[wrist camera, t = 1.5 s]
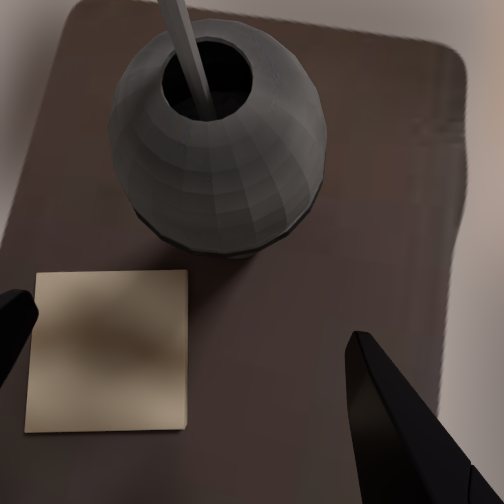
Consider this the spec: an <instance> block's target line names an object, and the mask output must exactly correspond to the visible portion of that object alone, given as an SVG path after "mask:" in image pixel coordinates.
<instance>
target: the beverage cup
mask: <svg viewBox="0 0 504 504" xmlns="http://www.w3.org/2000/svg"><path fill="white" fill-rule="evenodd" d="M158 3H159V6H160V9H161V12H162V14H163V17H164V20H165V23H166V25H167V28H168V30H167V31H165V32H163V33H161V34H159V35H157V36H155V37H154V38H153V39H152V40H151V41H150V42H149V43H148V44H147V45H146V46H145V47H143V48H142V49H141V50H140V51H139V52H138V53H137V54H136V55H135V56H134V58H133V59H132V60H131V62H130V64H129V65H128V67H127V69H126V71H125V72H124V74H123V76H122V78H121V79H120V81H119V83H118V85H117V86H116V90H115V95H114V100H113V105H112V110H111V115H110V120H109V124H108V131H109V138H110V146H111V153H112V160H113V167H114V170H115V173H116V175H117V177H118V179H119V181H120V183H121V185H122V187H123V189H124V191H125V193H126V195H127V197H128V199H129V201H130V203H131V204H132V206H133V208H134V210H135V212H136V214H137V216H138V218H139V219H140V220H141V221H142V222H143V223H144V224H145V225H146V226H147V227H149V228H150V229H151V230H152V231H153V232H154V233H155V234H156V235H157V236H158V237H159V238H160V239H161V240H163V241H165V242H167V243H169V244H171V245H173V246H175V247H178V248H180V249H182V250H184V251H186V252H188V253H190V254H194V255H203V256H211V257H219V258H234V259H241V258H246V257H250V256H252V255H254V254H255V253H257V252H259V251H261V250H263V249H265V248H266V247H268V246H270V245H272V244H274V243H275V242H277V241H279V240H281V239H283V238H285V237H286V236H288V235H289V234H290V233H291V232H292V231H293V230H294V228H295V227H296V226H297V225H298V224H299V223H300V222H301V221H302V220H303V219H304V218H305V217H306V216H307V215H308V213H309V212H310V211H311V209H312V206H313V204H314V202H315V200H316V197H317V195H318V193H319V191H320V189H321V186H322V184H323V178H324V167H325V156H326V139H327V128H326V124H325V120H324V116H323V112H322V108H321V104H320V100H319V96H318V93H317V89H316V88H315V86H314V85H313V83H312V82H311V80H310V78H309V77H308V75H307V74H306V72H305V71H304V69H303V67H302V66H301V64H300V63H299V61H298V60H297V58H296V57H295V55H293V54H292V53H291V52H290V51H288V50H287V49H286V48H285V47H284V46H282V45H281V44H280V43H279V42H278V41H276V40H275V39H274V38H273V37H271V36H270V35H268V34H267V33H265V32H263V31H261V30H258V29H256V28H253V27H251V26H248V25H246V24H244V23H241V22H239V21H229V20H220V19H211V18H210V19H204V20H198V21H193V22H190V19H189V15H188V12H187V8H186V5H185V1H184V0H158Z"/></svg>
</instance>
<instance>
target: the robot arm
mask: <svg viewBox="0 0 504 504" xmlns="http://www.w3.org/2000/svg"><path fill="white" fill-rule="evenodd" d="M38 317H39V310H38V307H37V305H36V303H35V301H34V299H33V297H32V295H31V293H30V292H29V291H26V290H19V289H12V290H9V291H7V292H5V293H3V294H1V295H0V388H1V386H2V385H3V383H4V382H5V380H6V379H7V377H8V375H9V374H10V372H11V370H12V369H13V367H14V365H15V363H16V361H17V359H18V357H19V355H20V353H21V351H22V349H23V347H24V345H25V343H26V341H27V339H28V337H29V336H30V334H31V332H32V330H33V328H34V326H35V324H36V322H37V320H38ZM345 373H346V392H347V409H348V418H349V424H350V430H351V436H352V442H353V449H354V455H355V461H356V467H357V473H358V479H359V485H360V491H361V497H362V504H504V502H503V501H502V500H501V499H500V498H499V496H498V495H497V494H496V493H495V491H494V490H493V489H492V488H491V486H490V485H489V484H488V483H487V481H486V480H485V479H484V478H483V476H482V475H481V474H480V472H479V471H478V470H477V469H476V467H475V466H474V465H471V461H470V460H469V459H468V457H467V456H466V455H465V453H464V452H463V451H462V450H461V448H460V447H459V446H458V445H457V443H456V442H455V441H454V439H453V438H452V437H451V436H450V434H449V433H448V432H447V431H446V429H445V428H444V427H443V426H442V424H441V423H440V422H439V420H438V419H437V418H436V417H435V415H434V414H433V413H432V411H431V410H430V409H429V408H428V406H427V405H426V404H425V402H424V401H423V400H422V399H421V397H420V396H419V395H418V394H417V392H416V391H415V390H414V388H413V387H412V386H411V385H410V383H409V382H408V381H407V380H406V378H405V377H404V376H403V374H402V373H401V372H400V371H399V369H398V368H397V367H396V366H395V364H394V363H393V362H392V360H391V359H390V358H389V357H388V355H387V354H386V353H385V352H384V350H383V349H382V348H381V346H380V345H379V344H378V343H377V341H376V340H375V339H374V338H373V336H372V335H371V334H370V333H368V332H363V331H354V332H353V333H352V335H351V337H350V340H349V342H348V344H347V347H346V349H345Z"/></svg>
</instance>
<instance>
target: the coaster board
mask: <svg viewBox="0 0 504 504" xmlns="http://www.w3.org/2000/svg"><path fill="white" fill-rule="evenodd" d="M35 303H36V305H37V307H38V310H39V317H38V320H37V322H36V324H35V326H34V328H33V330H32V341H31V355H30V368H29V381H28V394H27V407H26V420H25V433H31V432H76V431H121V430H165V429H185V427H186V425H187V366H188V270H148V271H102V272H56V273H37V276H36V289H35Z"/></svg>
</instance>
